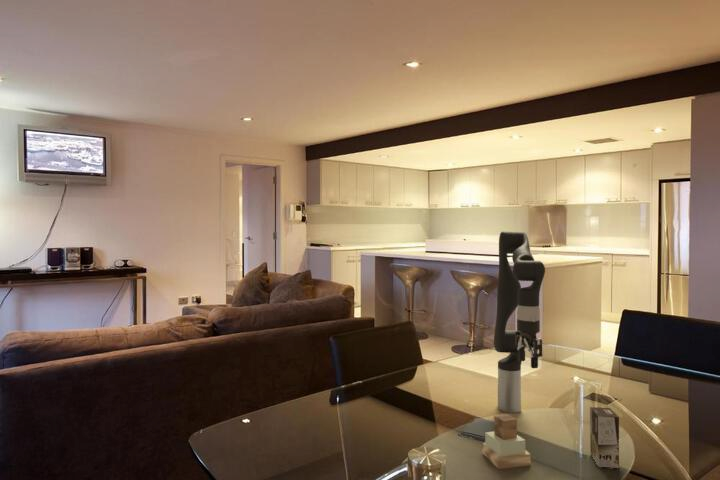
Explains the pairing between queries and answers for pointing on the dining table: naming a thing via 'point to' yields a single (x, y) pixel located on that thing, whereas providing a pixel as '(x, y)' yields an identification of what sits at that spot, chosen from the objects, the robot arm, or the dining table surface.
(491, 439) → the tower top
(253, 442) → the dining table surface
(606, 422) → the coffee box
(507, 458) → the tower base
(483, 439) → the dark grey book
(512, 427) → the walnut block
